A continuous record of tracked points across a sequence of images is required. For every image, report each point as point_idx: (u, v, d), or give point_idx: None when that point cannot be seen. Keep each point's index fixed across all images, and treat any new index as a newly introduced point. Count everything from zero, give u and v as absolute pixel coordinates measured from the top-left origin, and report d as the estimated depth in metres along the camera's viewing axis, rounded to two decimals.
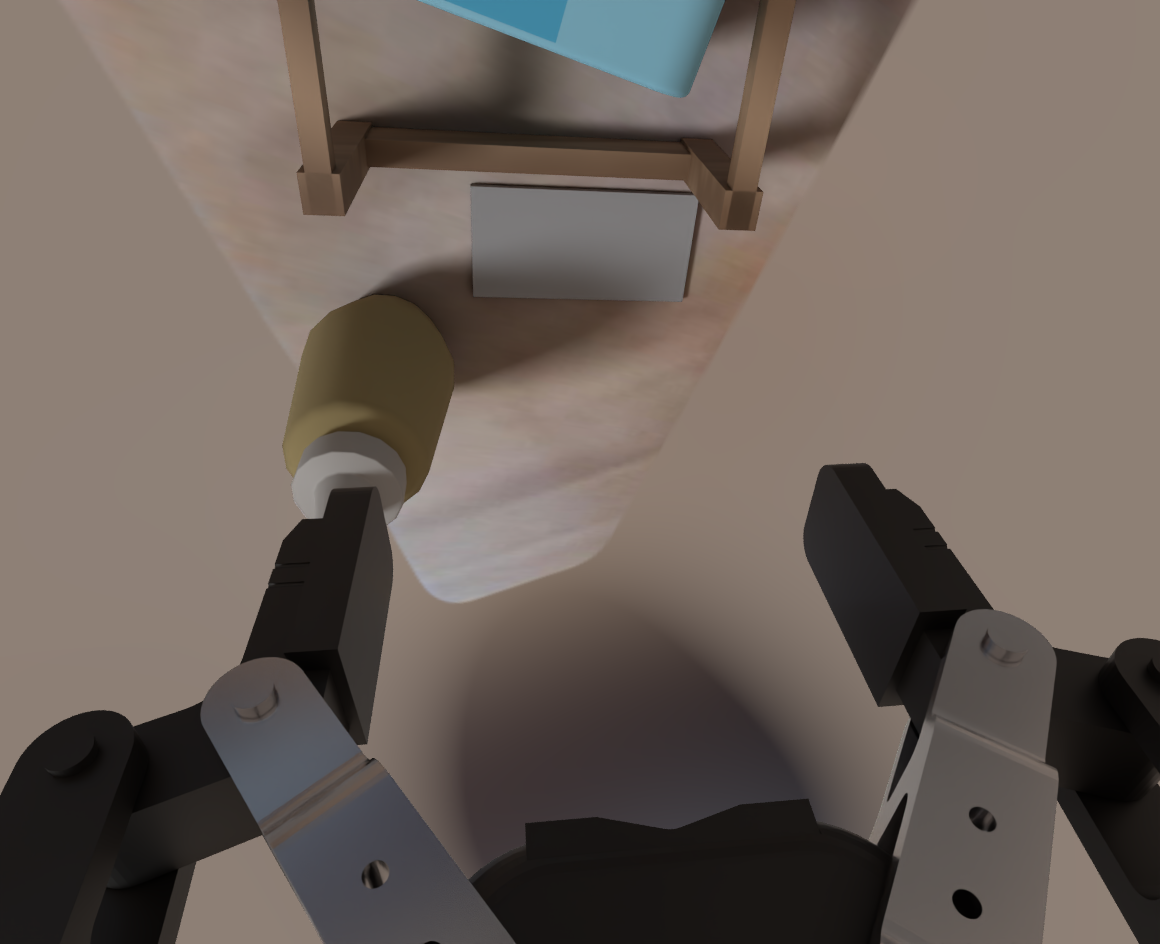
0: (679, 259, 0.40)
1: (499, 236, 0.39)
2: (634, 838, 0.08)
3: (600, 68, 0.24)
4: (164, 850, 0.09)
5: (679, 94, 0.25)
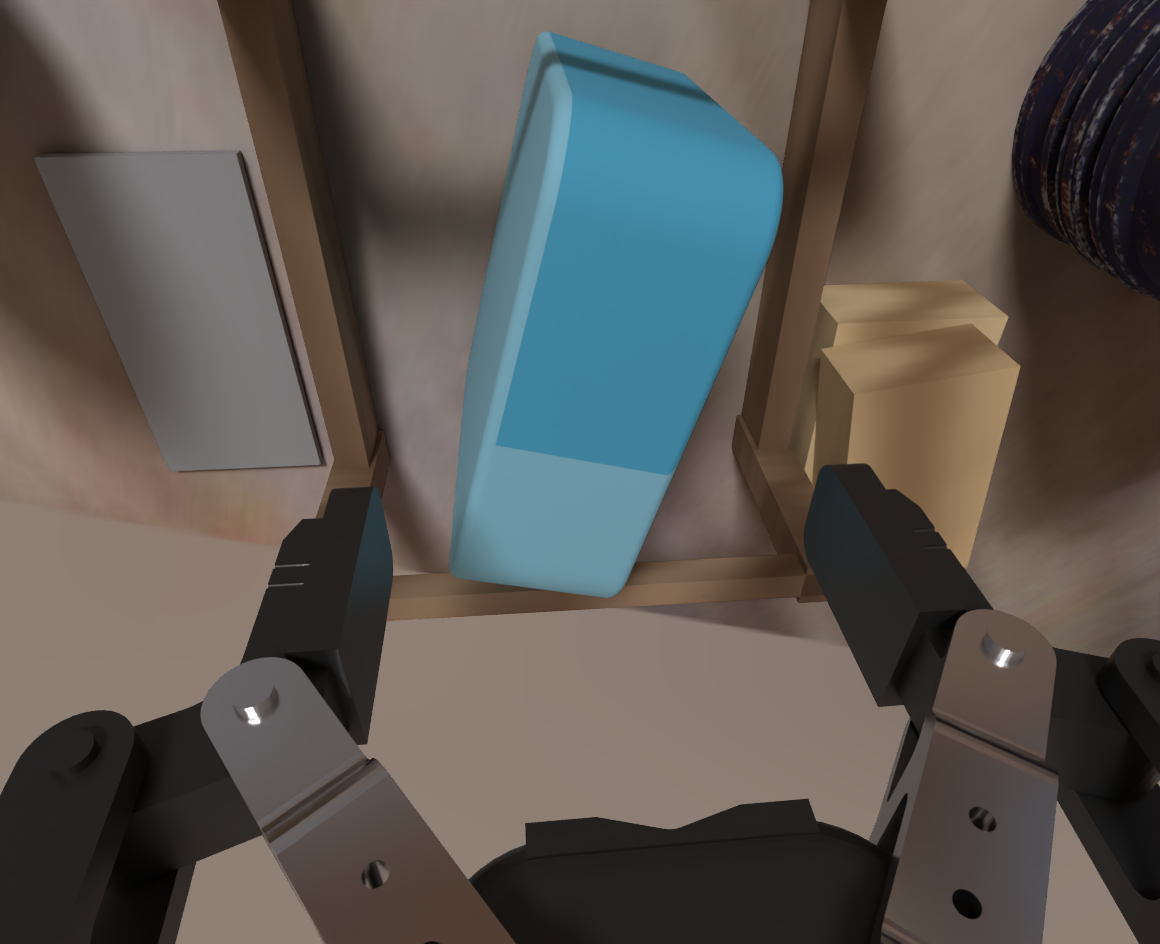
0: (229, 457, 0.29)
1: (167, 204, 0.23)
2: (634, 838, 0.08)
3: (471, 497, 0.17)
4: (165, 849, 0.09)
5: None
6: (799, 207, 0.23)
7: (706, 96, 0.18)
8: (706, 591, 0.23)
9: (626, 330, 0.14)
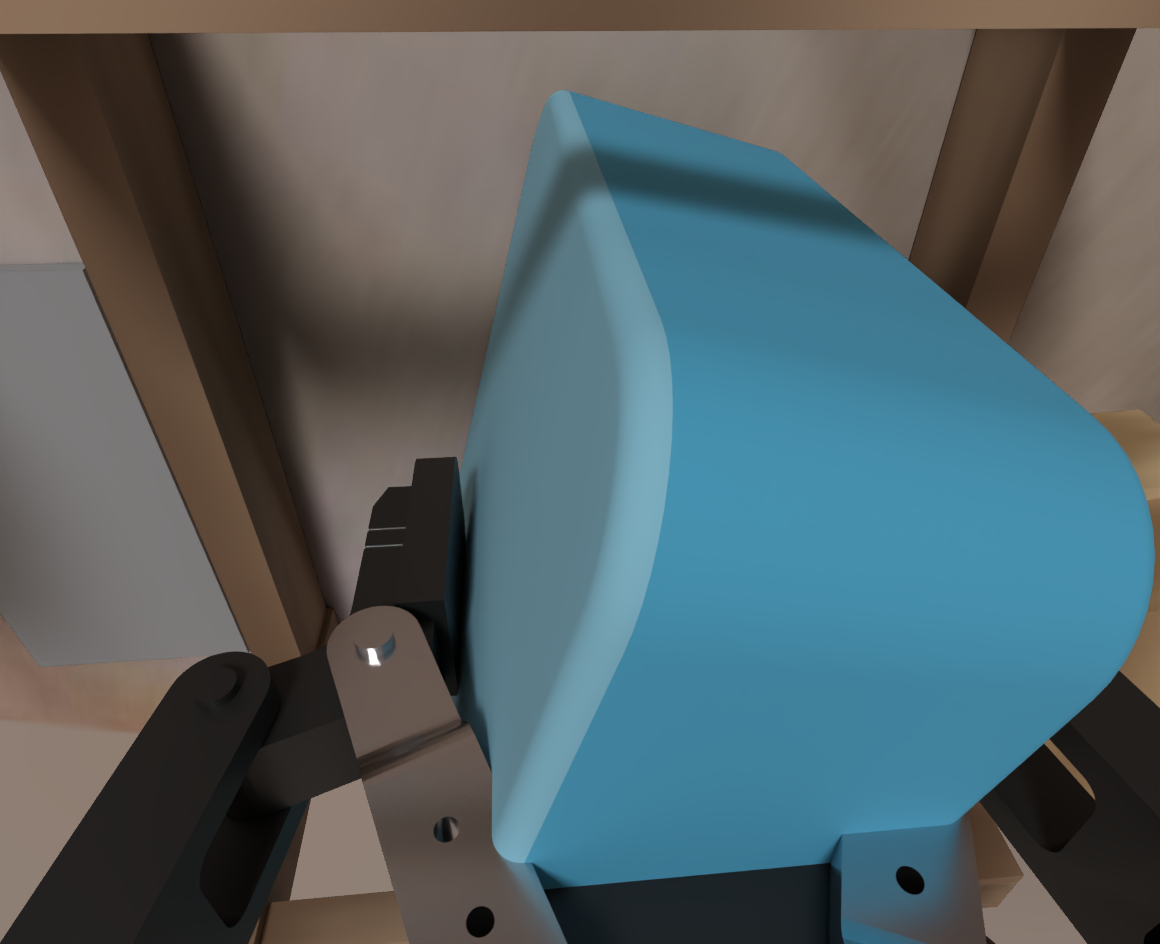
0: (120, 649, 0.21)
1: None
2: None
3: None
4: (292, 782, 0.09)
5: None
6: None
7: (852, 217, 0.10)
8: None
9: (767, 806, 0.06)
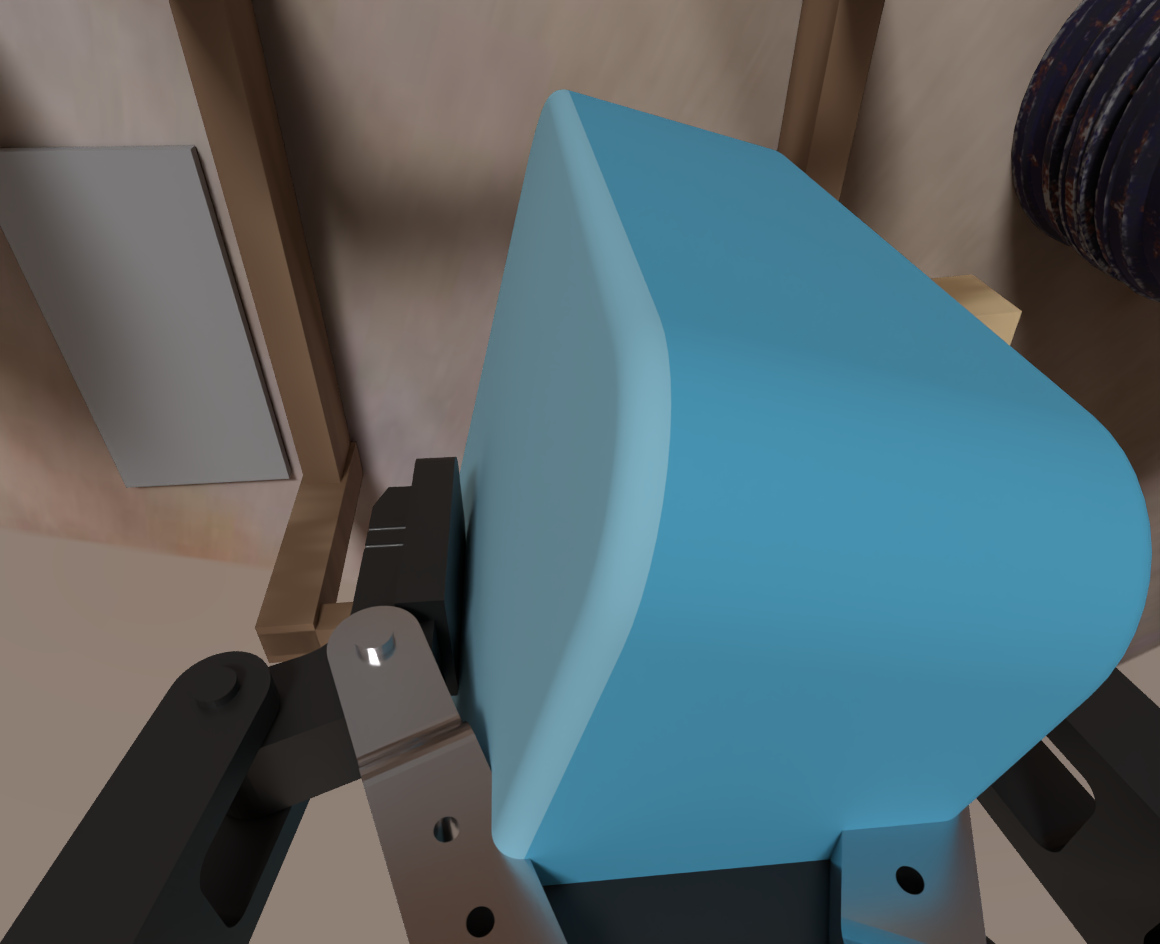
0: (190, 472, 0.27)
1: (116, 203, 0.21)
2: None
3: None
4: (292, 782, 0.09)
5: None
6: None
7: (851, 216, 0.10)
8: None
9: (767, 803, 0.06)
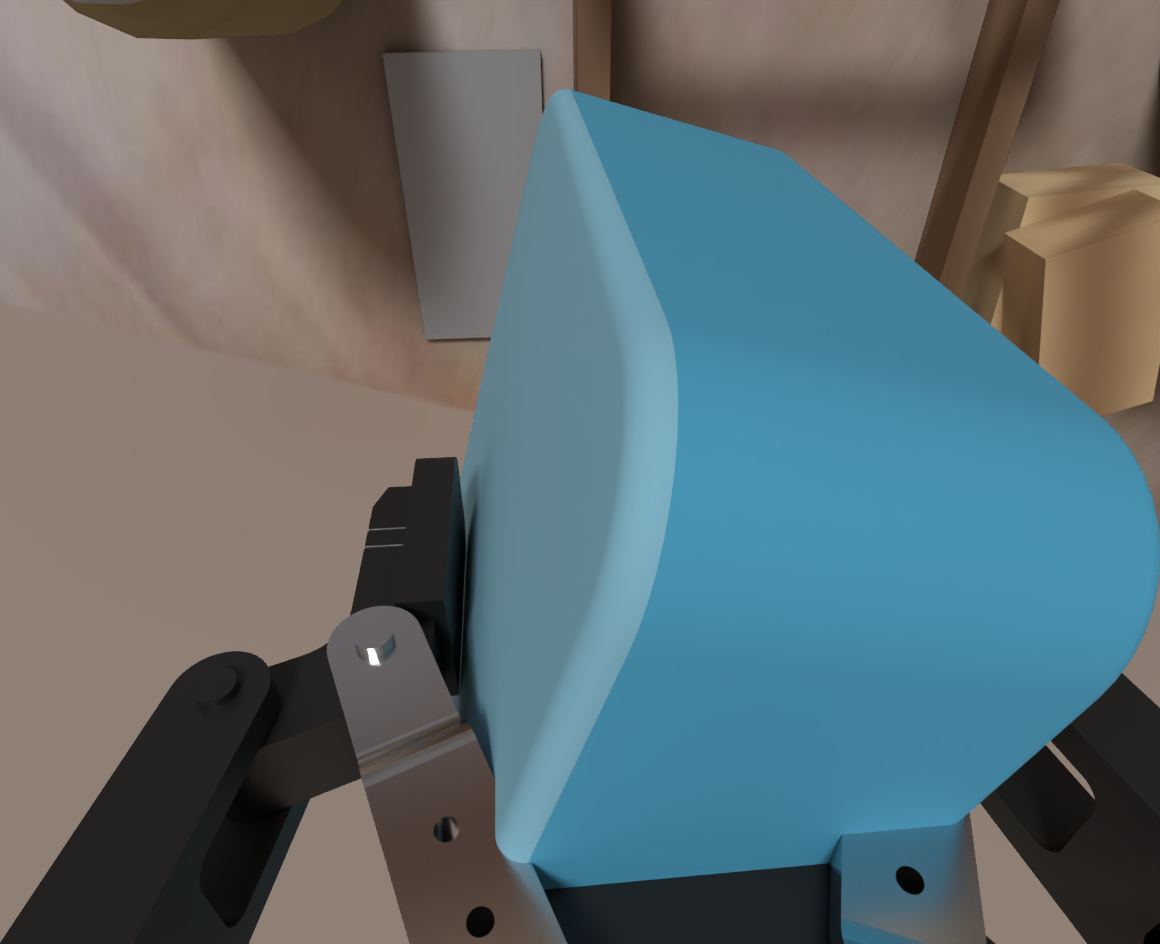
0: (476, 327, 0.34)
1: (477, 95, 0.28)
2: None
3: None
4: (292, 782, 0.09)
5: None
6: (992, 93, 0.28)
7: (855, 216, 0.10)
8: None
9: (772, 805, 0.06)
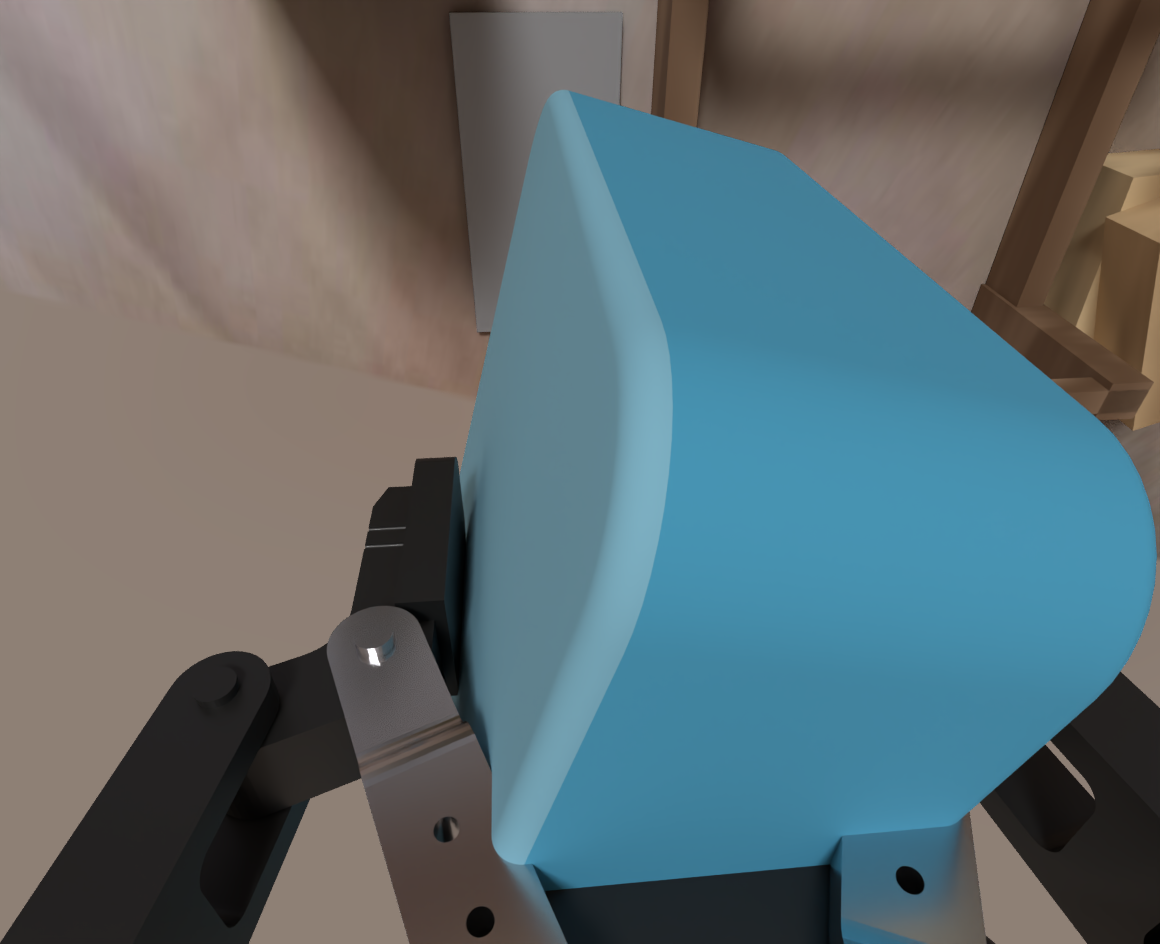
0: None
1: (550, 61, 0.26)
2: None
3: None
4: (292, 782, 0.09)
5: None
6: (1107, 64, 0.26)
7: (852, 217, 0.10)
8: None
9: (769, 808, 0.06)
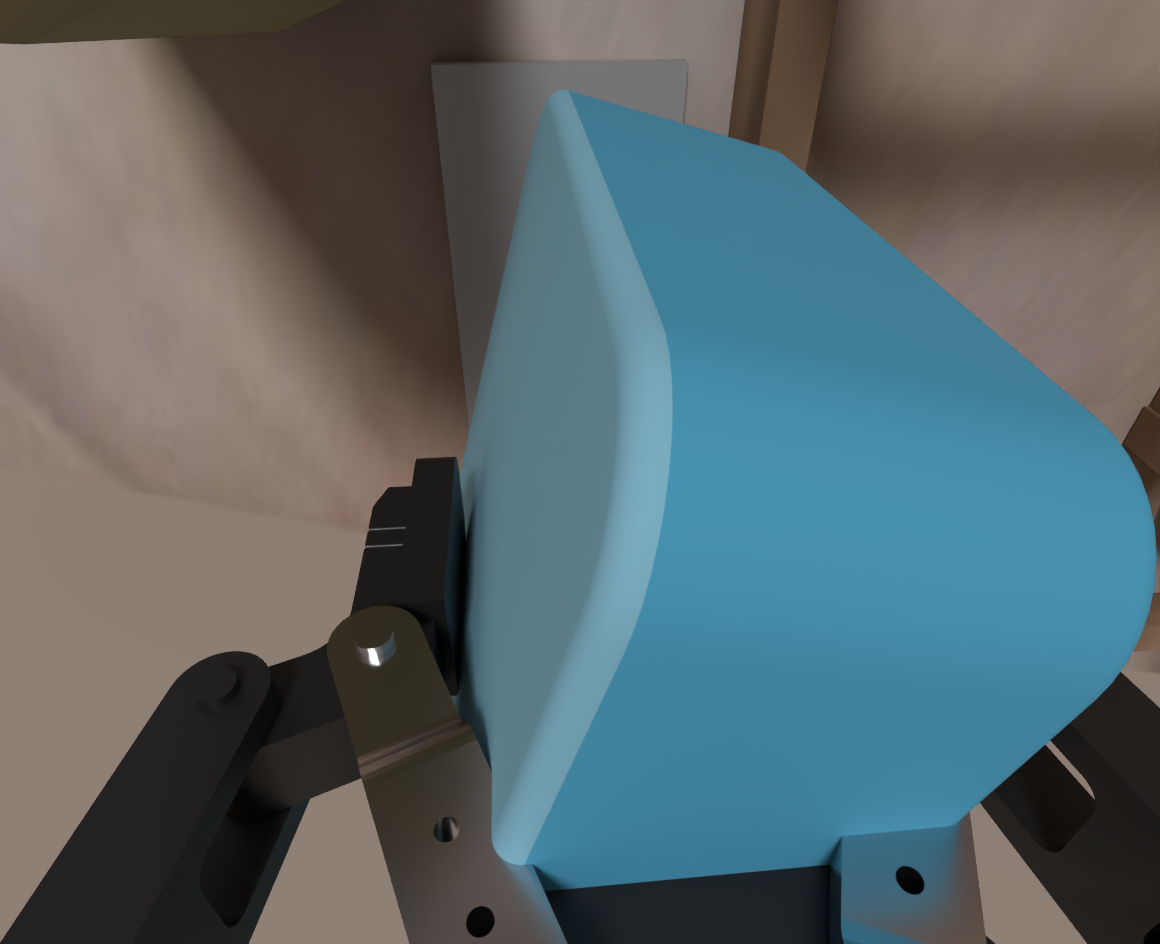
0: None
1: None
2: None
3: None
4: (292, 782, 0.09)
5: None
6: None
7: (852, 217, 0.10)
8: None
9: (769, 807, 0.06)
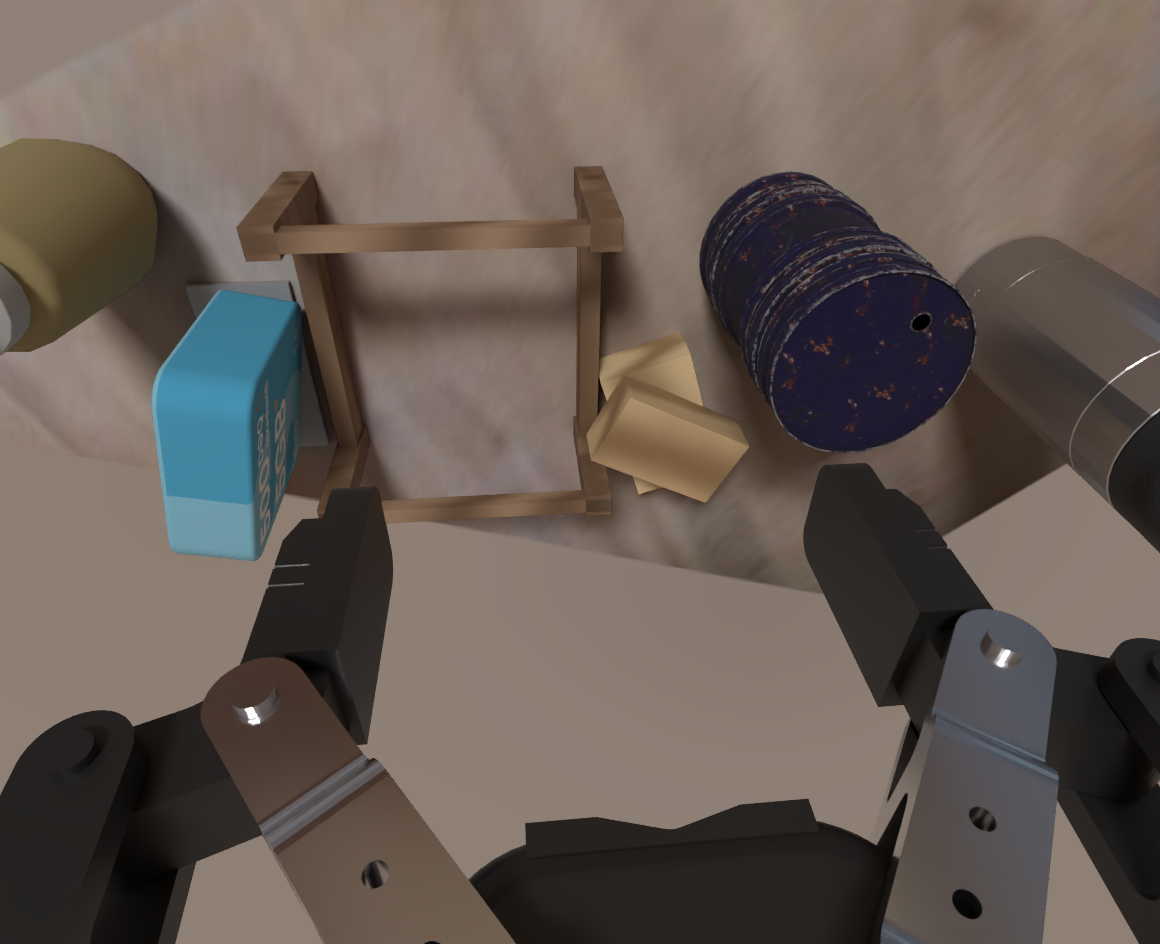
0: None
1: None
2: (634, 838, 0.08)
3: (166, 517, 0.38)
4: (164, 849, 0.09)
5: (175, 552, 0.40)
6: (580, 309, 0.44)
7: (275, 331, 0.40)
8: (534, 508, 0.45)
9: (203, 450, 0.36)
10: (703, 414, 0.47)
